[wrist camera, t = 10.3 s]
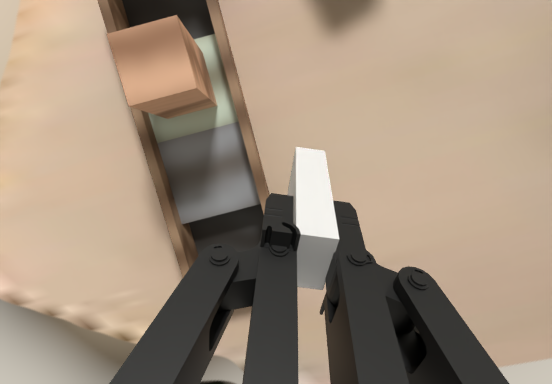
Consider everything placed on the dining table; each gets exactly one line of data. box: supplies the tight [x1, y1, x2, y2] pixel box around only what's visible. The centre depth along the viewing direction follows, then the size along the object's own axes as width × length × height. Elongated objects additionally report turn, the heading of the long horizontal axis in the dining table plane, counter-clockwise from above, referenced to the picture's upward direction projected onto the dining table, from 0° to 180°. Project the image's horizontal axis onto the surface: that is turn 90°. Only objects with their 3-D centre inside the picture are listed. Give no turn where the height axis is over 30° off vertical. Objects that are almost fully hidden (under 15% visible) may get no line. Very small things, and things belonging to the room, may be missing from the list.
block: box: [107, 15, 217, 119], centre depth 32 cm, size 6×6×10 cm
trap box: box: [98, 0, 269, 277], centre depth 38 cm, size 38×12×5 cm, turn 15°
